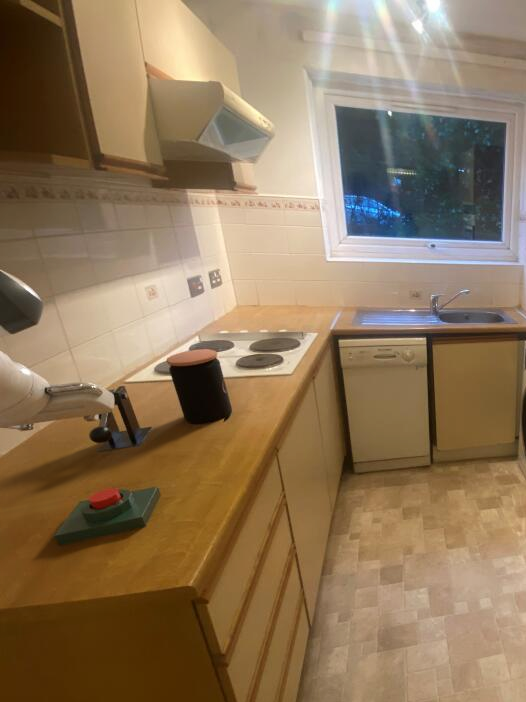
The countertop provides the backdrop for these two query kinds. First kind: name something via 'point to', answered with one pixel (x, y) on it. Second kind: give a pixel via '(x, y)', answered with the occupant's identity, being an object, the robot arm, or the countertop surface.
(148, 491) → the button box
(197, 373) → the coffee jar
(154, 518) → the countertop surface
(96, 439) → the lever
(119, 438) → the bracket
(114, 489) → the button
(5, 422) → the robot arm
